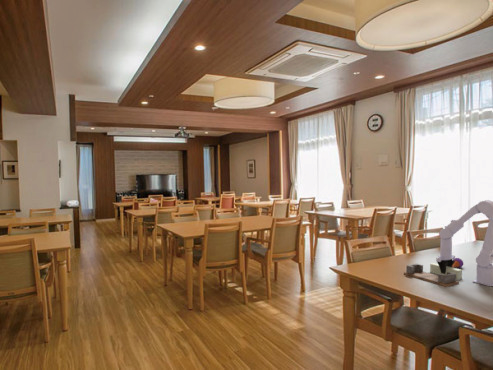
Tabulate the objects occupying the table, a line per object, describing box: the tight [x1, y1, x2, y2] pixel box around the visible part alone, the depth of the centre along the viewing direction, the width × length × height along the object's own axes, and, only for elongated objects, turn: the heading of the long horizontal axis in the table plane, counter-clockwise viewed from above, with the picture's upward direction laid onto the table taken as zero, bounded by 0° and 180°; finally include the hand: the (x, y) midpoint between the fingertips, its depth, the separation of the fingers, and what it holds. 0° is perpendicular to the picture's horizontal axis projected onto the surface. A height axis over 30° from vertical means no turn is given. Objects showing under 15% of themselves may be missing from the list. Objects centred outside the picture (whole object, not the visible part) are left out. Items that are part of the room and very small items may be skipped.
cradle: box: [403, 263, 460, 288], centre depth 186 cm, size 25×11×5 cm, turn 27°
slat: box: [429, 262, 463, 281], centre depth 192 cm, size 16×4×5 cm, turn 27°
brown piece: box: [452, 257, 464, 269], centre depth 205 cm, size 6×6×20 cm
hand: (445, 272), depth 192 cm, fingers closed on slat, 4 cm apart
